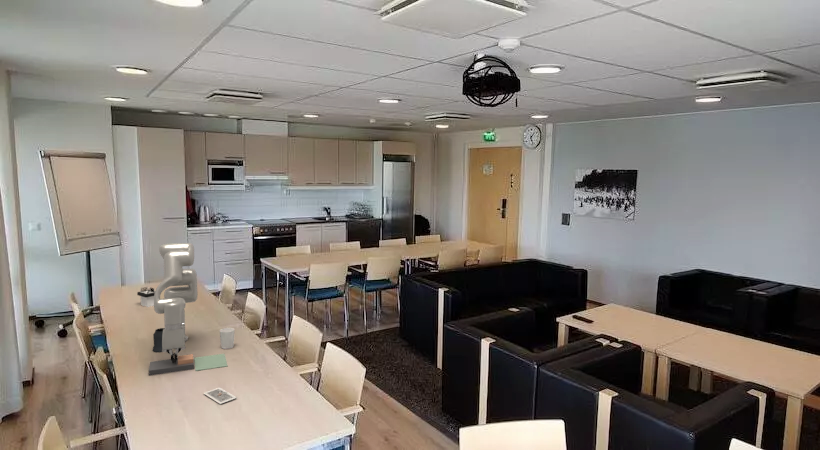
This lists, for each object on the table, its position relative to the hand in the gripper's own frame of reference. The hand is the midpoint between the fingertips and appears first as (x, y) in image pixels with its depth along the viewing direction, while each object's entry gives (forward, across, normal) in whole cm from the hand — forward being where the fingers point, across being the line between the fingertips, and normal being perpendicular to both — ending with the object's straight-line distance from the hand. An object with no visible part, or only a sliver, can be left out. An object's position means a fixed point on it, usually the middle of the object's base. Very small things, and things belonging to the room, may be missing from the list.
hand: (174, 361), depth 240 cm
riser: (+3, +1, 0) cm, 3 cm away
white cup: (+3, -27, -20) cm, 34 cm away
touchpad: (+4, -19, +42) cm, 46 cm away
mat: (+3, -17, 0) cm, 17 cm away
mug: (+3, +5, -30) cm, 31 cm away
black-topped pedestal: (+4, +18, -130) cm, 131 cm away
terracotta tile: (+1, -5, 0) cm, 5 cm away
